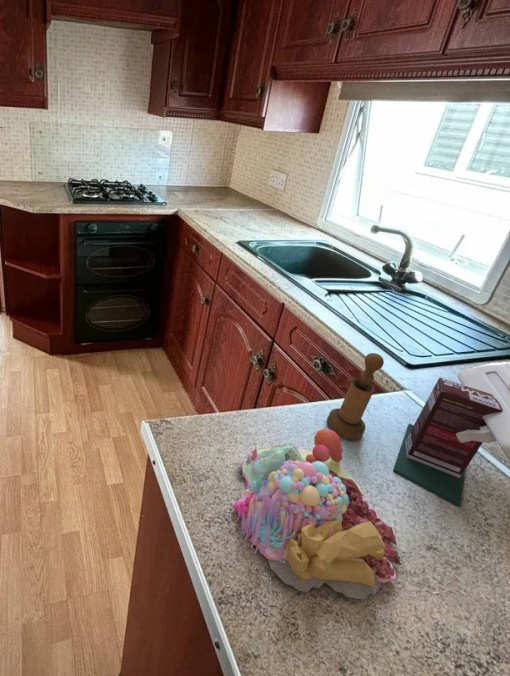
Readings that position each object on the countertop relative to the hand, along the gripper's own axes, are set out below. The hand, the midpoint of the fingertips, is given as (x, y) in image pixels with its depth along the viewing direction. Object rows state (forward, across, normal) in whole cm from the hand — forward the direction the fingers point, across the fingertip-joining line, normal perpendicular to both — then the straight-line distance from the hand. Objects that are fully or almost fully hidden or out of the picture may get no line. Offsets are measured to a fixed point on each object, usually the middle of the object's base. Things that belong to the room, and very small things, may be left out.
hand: (449, 422), depth 71 cm
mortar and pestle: (+17, -2, -3) cm, 17 cm away
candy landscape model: (+23, +21, -9) cm, 32 cm away
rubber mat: (+6, 0, +7) cm, 10 cm away
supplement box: (+6, 0, +7) cm, 9 cm away
